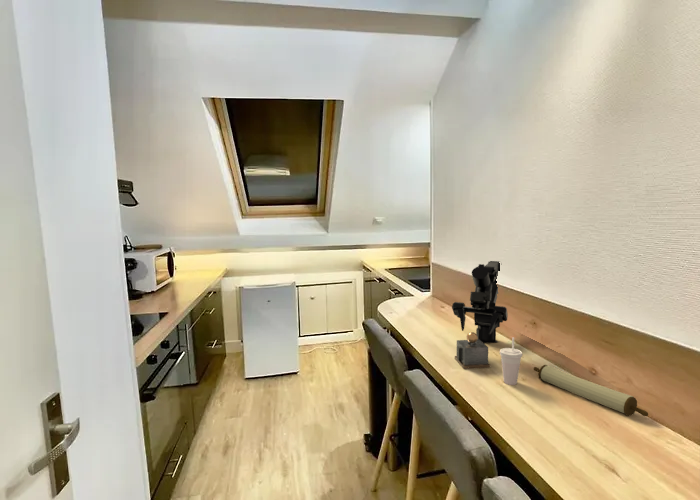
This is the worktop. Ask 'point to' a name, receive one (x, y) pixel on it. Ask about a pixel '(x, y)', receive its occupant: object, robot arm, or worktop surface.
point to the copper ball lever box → (472, 354)
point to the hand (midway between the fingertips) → (475, 332)
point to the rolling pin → (590, 390)
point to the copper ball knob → (472, 338)
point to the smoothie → (510, 364)
